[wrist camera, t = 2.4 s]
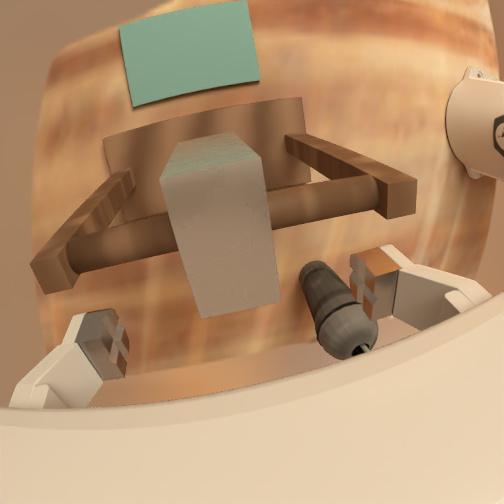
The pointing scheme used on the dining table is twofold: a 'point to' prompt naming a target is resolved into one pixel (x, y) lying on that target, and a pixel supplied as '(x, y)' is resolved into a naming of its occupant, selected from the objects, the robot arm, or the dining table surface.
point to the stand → (275, 175)
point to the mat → (189, 51)
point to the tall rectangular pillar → (222, 223)
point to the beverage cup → (336, 313)
